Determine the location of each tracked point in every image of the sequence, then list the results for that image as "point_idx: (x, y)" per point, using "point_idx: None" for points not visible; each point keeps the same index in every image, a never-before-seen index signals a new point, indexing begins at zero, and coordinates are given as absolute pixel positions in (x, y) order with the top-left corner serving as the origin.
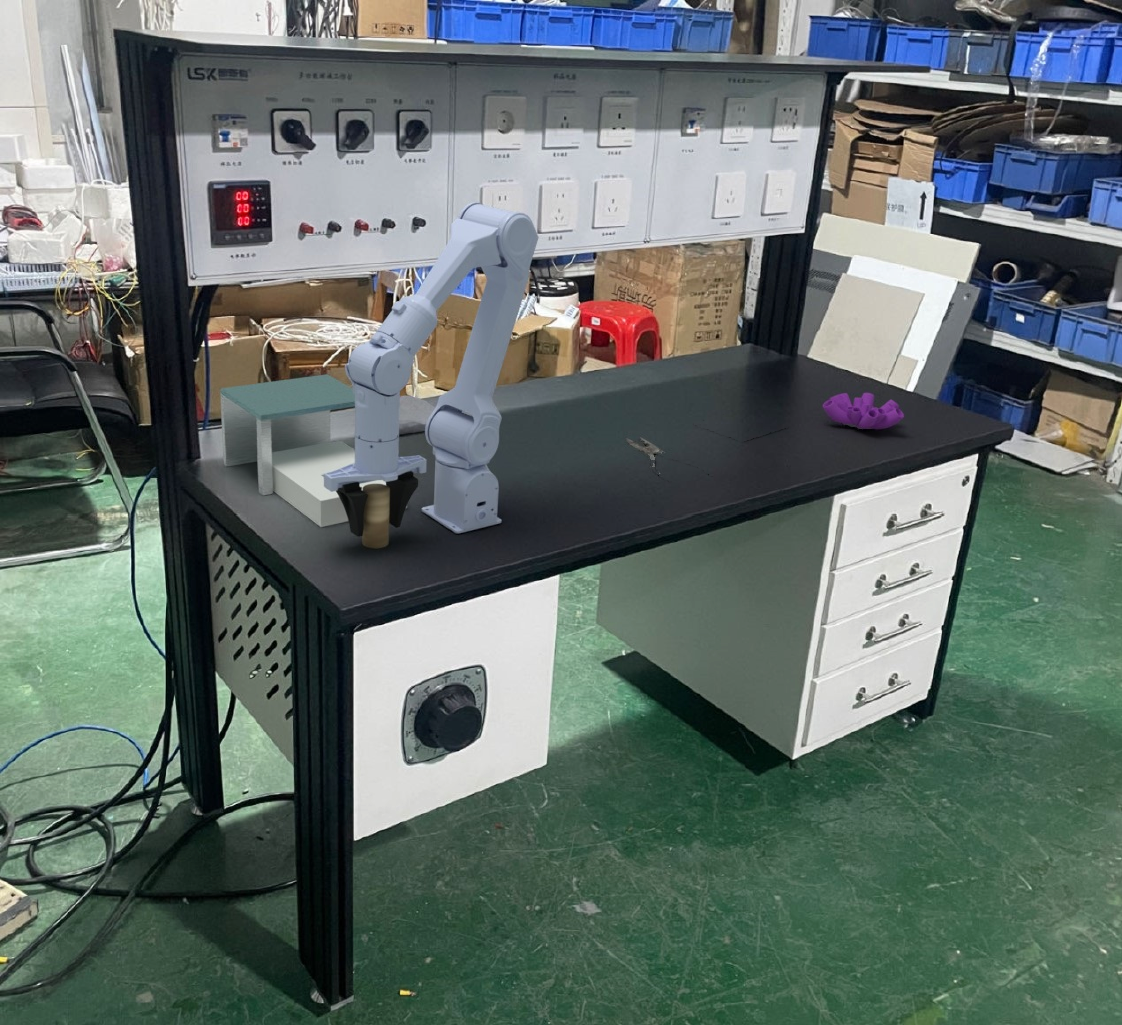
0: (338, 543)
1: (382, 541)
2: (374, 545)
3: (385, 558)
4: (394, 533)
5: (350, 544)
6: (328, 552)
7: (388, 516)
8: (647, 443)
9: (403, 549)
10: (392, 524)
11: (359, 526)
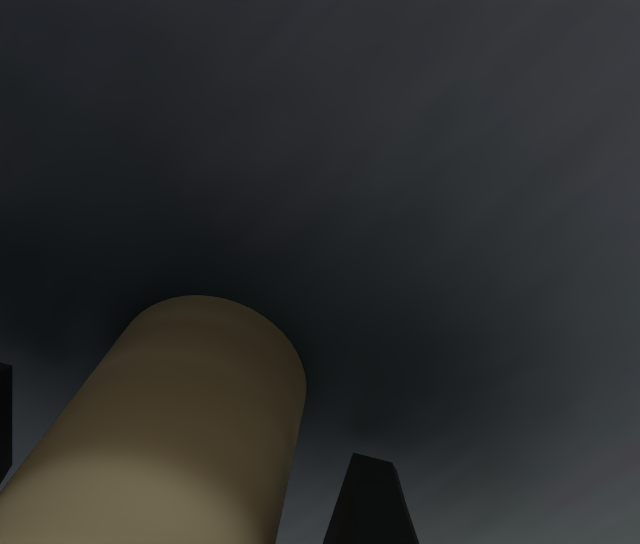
0: None
1: (208, 326)
2: (273, 342)
3: (339, 149)
4: None
5: None
6: (559, 489)
7: (31, 478)
8: None
9: (108, 165)
10: (7, 419)
11: (405, 539)
